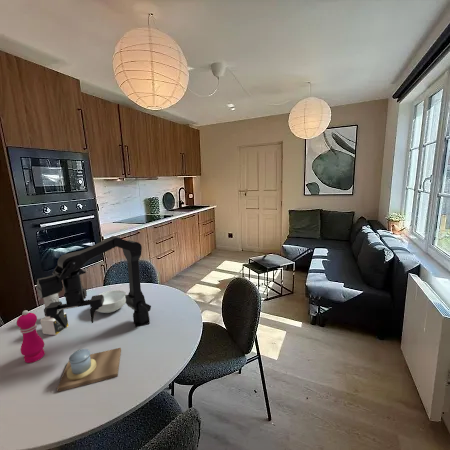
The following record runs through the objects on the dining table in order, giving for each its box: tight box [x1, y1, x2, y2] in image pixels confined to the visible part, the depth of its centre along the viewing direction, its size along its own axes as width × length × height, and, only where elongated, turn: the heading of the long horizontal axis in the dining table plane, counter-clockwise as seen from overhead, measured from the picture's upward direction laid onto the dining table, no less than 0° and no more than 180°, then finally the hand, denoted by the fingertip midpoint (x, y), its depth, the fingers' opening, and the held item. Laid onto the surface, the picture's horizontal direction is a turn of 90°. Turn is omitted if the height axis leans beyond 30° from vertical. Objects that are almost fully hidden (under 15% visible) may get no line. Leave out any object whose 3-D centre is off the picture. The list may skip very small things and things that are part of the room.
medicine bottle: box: [40, 306, 69, 336], centre depth 113 cm, size 7×7×12 cm
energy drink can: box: [42, 293, 60, 309], centre depth 122 cm, size 6×6×15 cm
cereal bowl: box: [96, 289, 128, 314], centre depth 130 cm, size 17×17×7 cm
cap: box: [68, 348, 91, 374], centre depth 86 cm, size 6×6×5 cm
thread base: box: [56, 347, 122, 392], centre depth 89 cm, size 18×14×2 cm
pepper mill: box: [16, 310, 46, 364], centre depth 94 cm, size 7×7×20 cm
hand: (79, 325), depth 96 cm, fingers open, 9 cm apart
